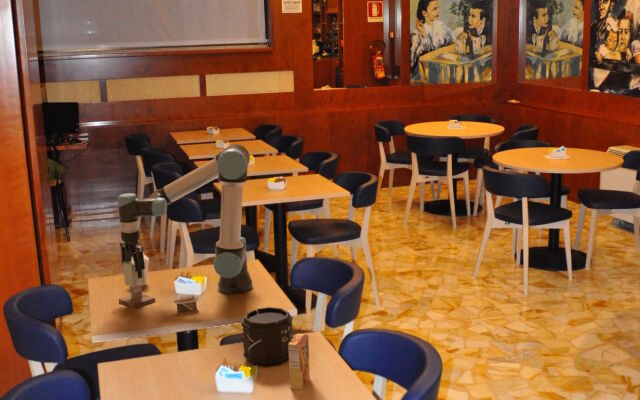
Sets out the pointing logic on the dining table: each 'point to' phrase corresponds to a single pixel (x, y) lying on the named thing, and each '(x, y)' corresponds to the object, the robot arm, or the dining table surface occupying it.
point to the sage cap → (131, 273)
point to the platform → (186, 303)
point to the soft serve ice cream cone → (146, 261)
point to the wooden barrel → (267, 336)
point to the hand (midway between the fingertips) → (134, 283)
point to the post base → (138, 302)
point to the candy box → (299, 361)
